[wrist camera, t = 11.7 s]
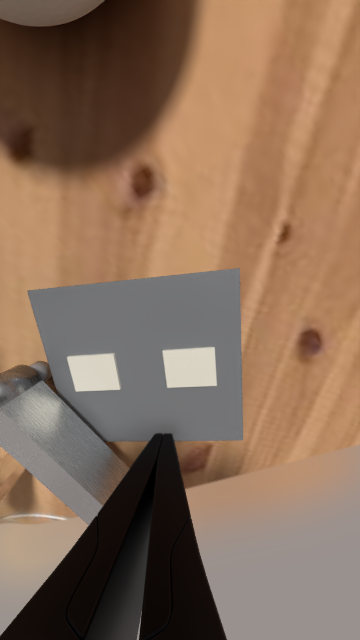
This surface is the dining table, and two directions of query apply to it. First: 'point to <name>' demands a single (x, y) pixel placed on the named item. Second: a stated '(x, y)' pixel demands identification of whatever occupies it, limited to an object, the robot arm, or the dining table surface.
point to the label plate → (147, 355)
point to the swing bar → (56, 443)
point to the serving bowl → (45, 11)
